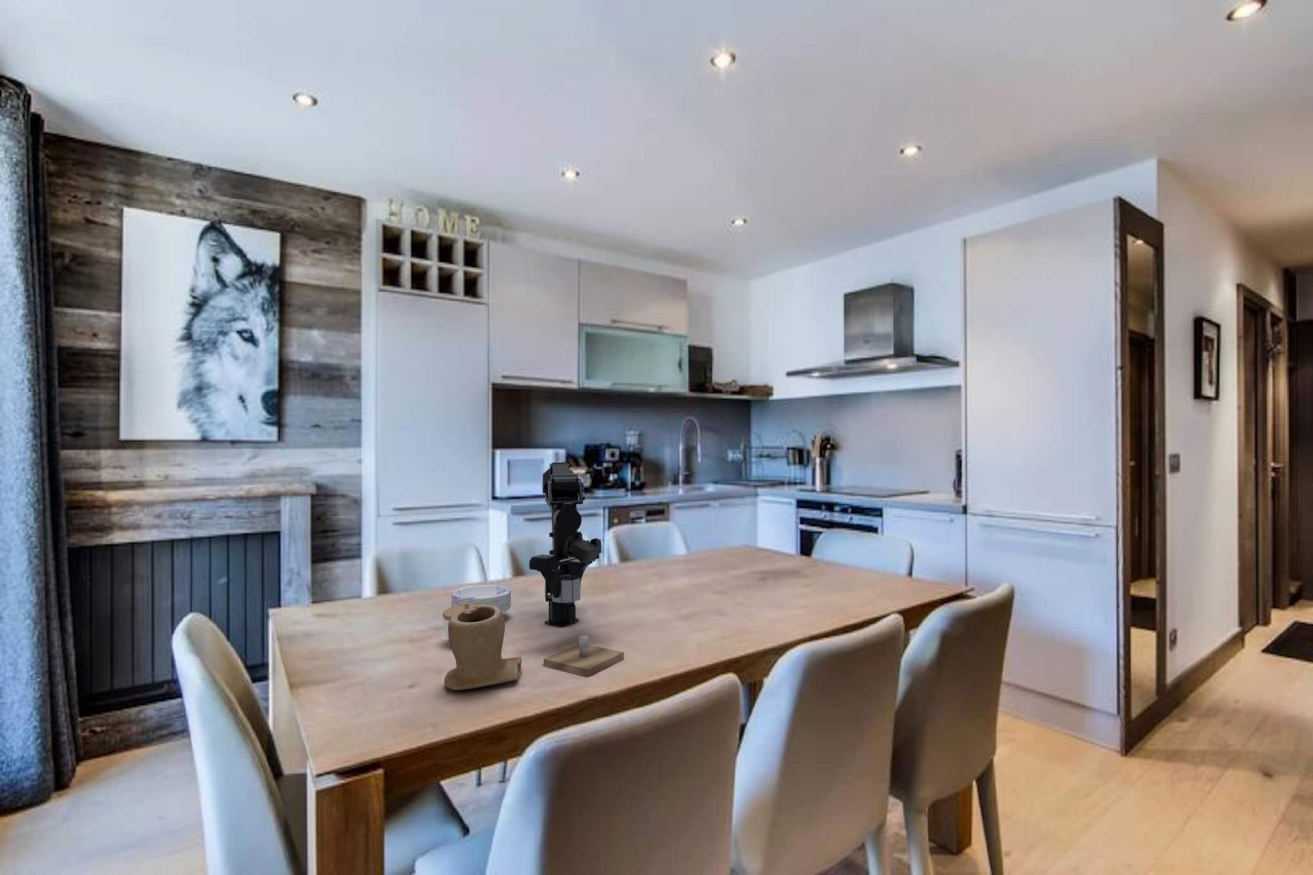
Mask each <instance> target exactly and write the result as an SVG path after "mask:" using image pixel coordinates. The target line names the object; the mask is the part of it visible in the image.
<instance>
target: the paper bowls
mask: <svg viewBox="0 0 1313 875" xmlns="http://www.w3.org/2000/svg"><path fill="white" fill-rule="evenodd" d="M450 599H451V602H450V603H451V608H452V607H456V606H461V605H465V603H469V605H473V604H475V605H493V606H496V607H498V608H499V609H500V610H501V612H502V614H503V615H504V613H506V612H507V611H509V610H510V609H511V606H512V590H511V588H509V587H508V586H505V585H504V586H503V585H496V584H495V585H493V584H483V585H481V584H480V585H471V586H464V587H461V588H457V589H455V590H453V591H452V592H451V598H450Z"/></svg>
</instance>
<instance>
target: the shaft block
mask: <svg viewBox="0 0 1313 875" xmlns="http://www.w3.org/2000/svg"><path fill="white" fill-rule="evenodd" d="M589 637H590V636H589V635H587V634H581V635H579V636H578V643H577V644H575V645H572V646H570V647H568V648H565V649H562V650H561V651H558V652H556V653H554V654H551V655H549V656H547V657H545V658H543V667H545V668H549V669H553V670H559V671H562V672H566V673H571V674H575V675H579V676H582V677H585V678H586V677H587V678H590V677H592V676H593V675H595V674H597V673H599V672H601V671H603V670H605V669H607V668H609V667H611V666H613V665H615V664H617V663H619V662H621V661H623V660H624V659H625V653H624V651H621V650H615V649H611V648H606V647H601V646H597V645H594V644H593V645H592V644H589V641H590V639H589Z"/></svg>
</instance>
